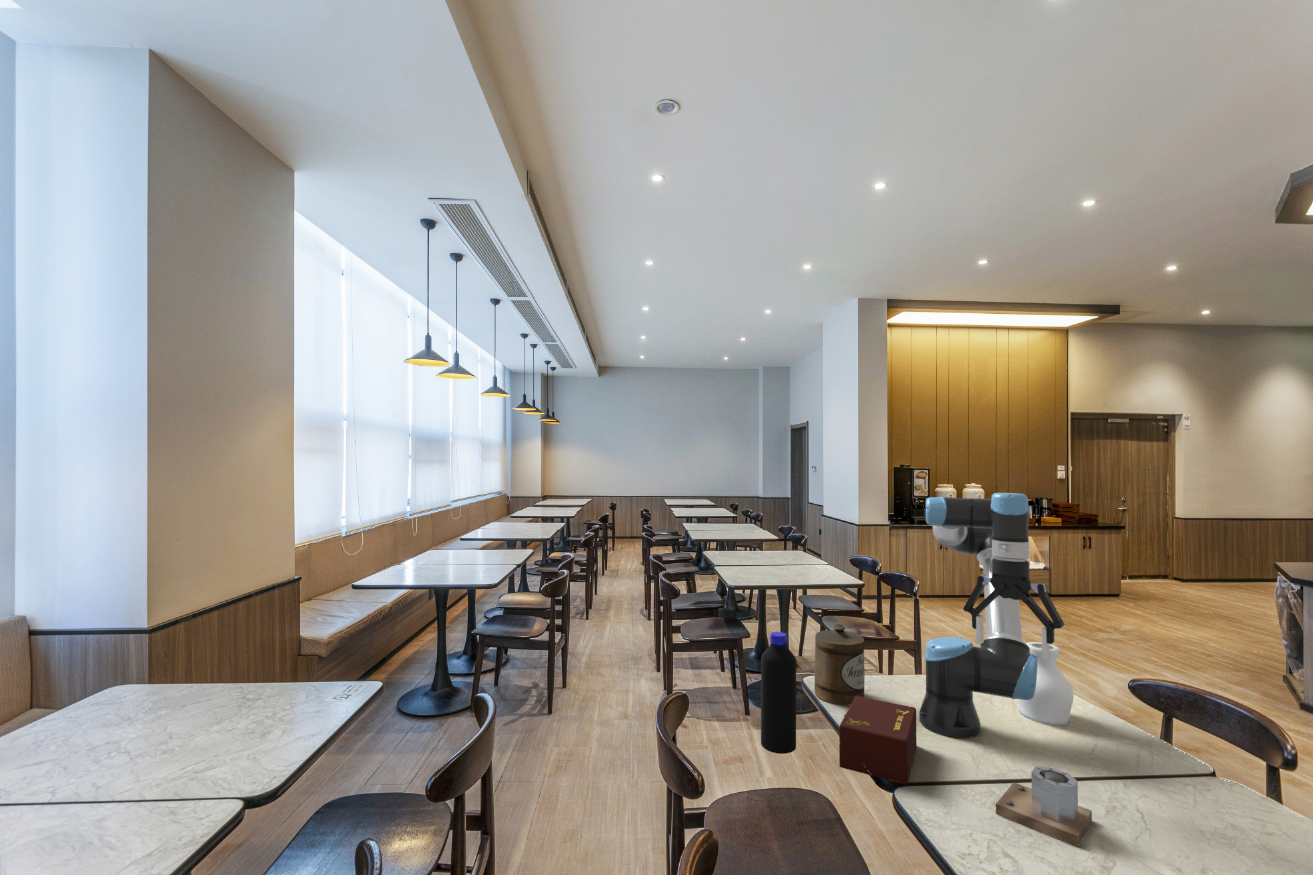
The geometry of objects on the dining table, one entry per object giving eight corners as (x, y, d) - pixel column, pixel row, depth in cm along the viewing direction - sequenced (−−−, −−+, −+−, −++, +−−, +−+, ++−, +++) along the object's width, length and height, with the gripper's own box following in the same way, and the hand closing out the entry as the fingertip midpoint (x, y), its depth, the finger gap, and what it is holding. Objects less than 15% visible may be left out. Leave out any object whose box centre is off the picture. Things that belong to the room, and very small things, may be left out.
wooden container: (857, 709, 169) (857, 633, 170) (808, 697, 177) (808, 625, 178) (869, 693, 181) (869, 622, 182) (822, 682, 189) (822, 615, 190)
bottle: (775, 757, 141) (776, 641, 142) (753, 741, 149) (754, 631, 150) (803, 749, 145) (803, 636, 146) (780, 734, 153) (780, 627, 154)
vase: (1072, 713, 168) (1070, 643, 169) (1076, 732, 156) (1074, 657, 157) (1014, 701, 176) (1013, 635, 177) (1014, 718, 164) (1013, 647, 165)
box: (850, 731, 156) (850, 693, 156) (916, 746, 148) (916, 706, 148) (833, 766, 137) (832, 723, 138) (907, 785, 129) (907, 740, 130)
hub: (1029, 810, 117) (1028, 775, 117) (1038, 797, 122) (1038, 763, 122) (1072, 827, 111) (1071, 790, 112) (1080, 812, 116) (1079, 776, 117)
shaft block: (995, 813, 119) (995, 768, 119) (1013, 791, 127) (1013, 749, 128) (1078, 846, 109) (1077, 798, 109) (1091, 820, 117) (1090, 775, 117)
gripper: (948, 553, 143) (949, 640, 142) (1070, 567, 124) (1072, 667, 123) (959, 550, 148) (960, 634, 147) (1078, 564, 129) (1080, 659, 128)
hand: (1011, 650), depth 135 cm, fingers open, 13 cm apart
